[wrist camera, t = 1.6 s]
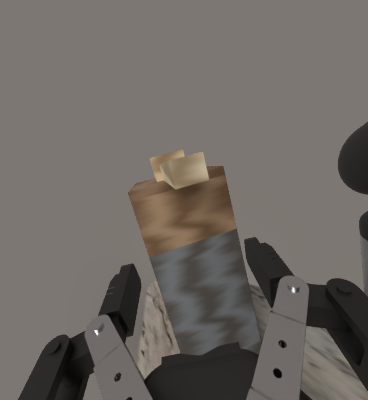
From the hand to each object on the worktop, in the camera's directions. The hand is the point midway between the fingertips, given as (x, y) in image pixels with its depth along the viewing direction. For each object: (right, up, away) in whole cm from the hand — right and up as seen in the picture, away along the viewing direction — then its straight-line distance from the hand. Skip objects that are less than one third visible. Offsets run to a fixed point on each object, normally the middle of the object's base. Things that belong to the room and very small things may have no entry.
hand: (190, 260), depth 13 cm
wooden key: (-2, +7, +12) cm, 14 cm away
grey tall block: (+6, -23, +25) cm, 35 cm away
